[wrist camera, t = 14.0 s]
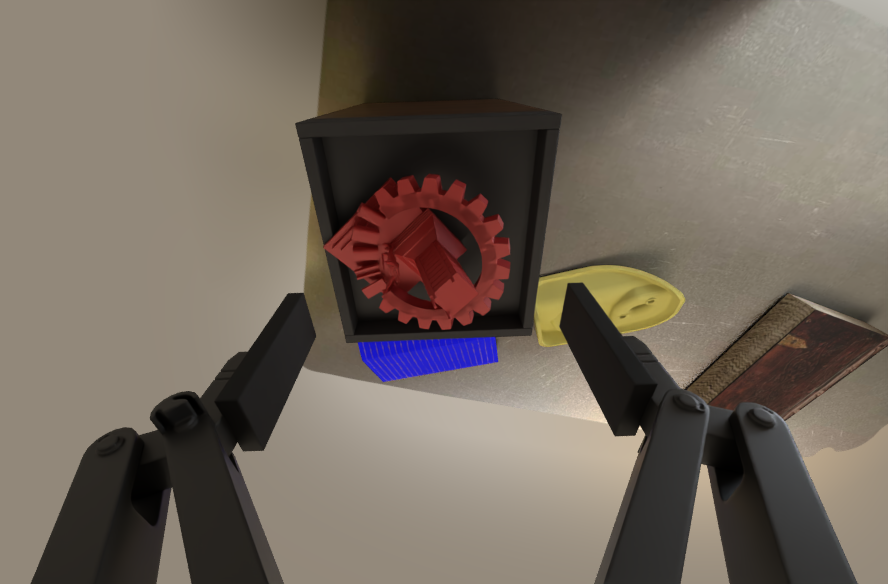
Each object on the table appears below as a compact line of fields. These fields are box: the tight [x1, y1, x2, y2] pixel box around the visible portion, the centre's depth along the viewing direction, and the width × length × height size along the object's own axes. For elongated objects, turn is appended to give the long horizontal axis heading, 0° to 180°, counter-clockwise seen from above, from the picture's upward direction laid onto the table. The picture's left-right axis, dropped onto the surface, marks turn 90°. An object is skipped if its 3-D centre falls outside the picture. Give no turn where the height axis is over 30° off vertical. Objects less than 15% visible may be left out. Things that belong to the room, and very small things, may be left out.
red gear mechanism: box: [323, 174, 510, 330], centre depth 21 cm, size 11×12×8 cm
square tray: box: [295, 111, 562, 343], centre depth 25 cm, size 17×16×3 cm
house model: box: [358, 337, 498, 383], centre depth 52 cm, size 19×20×7 cm
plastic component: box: [534, 265, 685, 347], centre depth 52 cm, size 20×7×10 cm
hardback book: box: [687, 293, 888, 421], centre depth 61 cm, size 29×19×5 cm, turn 160°
